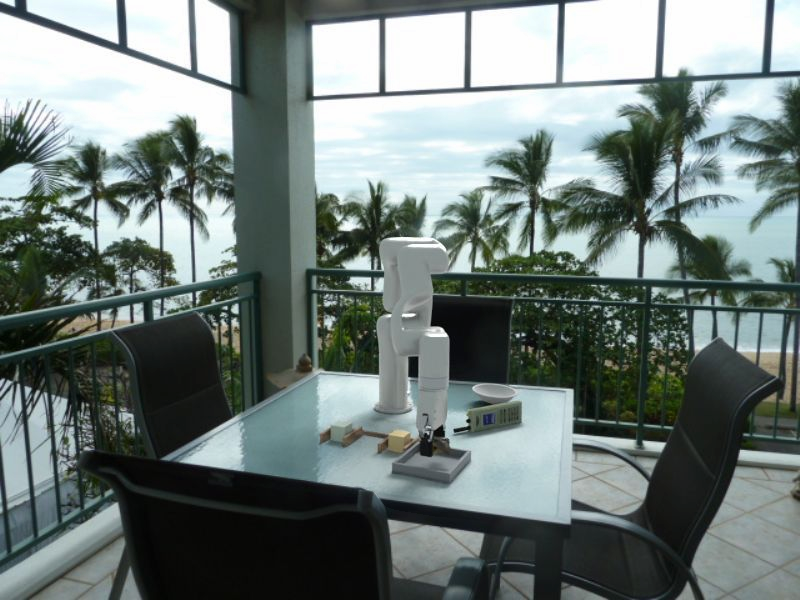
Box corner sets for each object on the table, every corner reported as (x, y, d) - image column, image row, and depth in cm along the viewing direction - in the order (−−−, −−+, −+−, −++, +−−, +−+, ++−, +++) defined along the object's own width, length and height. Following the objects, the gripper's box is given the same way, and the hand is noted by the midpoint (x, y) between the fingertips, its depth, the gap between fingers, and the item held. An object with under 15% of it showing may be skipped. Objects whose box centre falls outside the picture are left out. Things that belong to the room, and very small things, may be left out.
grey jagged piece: (430, 465, 144) (431, 440, 142) (414, 453, 149) (415, 429, 147) (455, 455, 149) (456, 431, 147) (439, 443, 154) (440, 420, 152)
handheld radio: (523, 423, 183) (457, 436, 171) (516, 420, 186) (451, 433, 174) (523, 401, 183) (457, 414, 170) (516, 399, 186) (450, 411, 173)
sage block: (338, 435, 171) (338, 420, 171) (352, 437, 169) (352, 422, 169) (330, 440, 167) (330, 424, 167) (344, 442, 165) (344, 427, 165)
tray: (417, 450, 160) (417, 441, 159) (470, 459, 153) (471, 450, 153) (392, 472, 145) (392, 462, 145) (449, 484, 139) (449, 473, 139)
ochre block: (395, 445, 164) (395, 429, 163) (410, 447, 162) (410, 432, 161) (388, 450, 160) (388, 434, 159) (403, 453, 158) (403, 437, 157)
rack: (341, 429, 176) (341, 420, 176) (423, 442, 165) (423, 434, 165) (320, 442, 165) (319, 433, 165) (405, 457, 155) (405, 448, 154)
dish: (526, 409, 196) (527, 394, 196) (488, 414, 191) (489, 399, 190) (499, 395, 212) (499, 381, 212) (463, 399, 207) (463, 385, 207)
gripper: (432, 372, 156) (431, 437, 158) (405, 388, 140) (404, 460, 142) (459, 375, 153) (458, 441, 155) (434, 392, 137) (433, 465, 139)
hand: (432, 449), depth 149 cm, fingers closed on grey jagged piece, 7 cm apart
